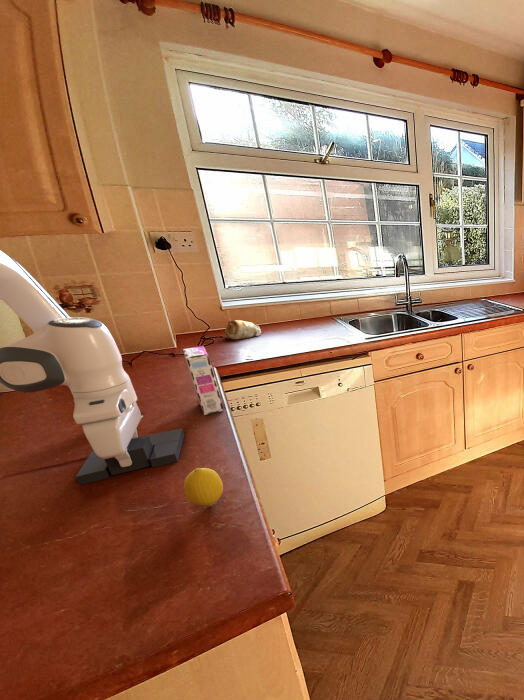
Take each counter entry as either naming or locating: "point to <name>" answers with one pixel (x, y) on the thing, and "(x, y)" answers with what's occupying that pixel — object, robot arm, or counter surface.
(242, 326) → the pastry
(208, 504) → the lemon
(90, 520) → the counter surface
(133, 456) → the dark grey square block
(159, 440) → the base pad
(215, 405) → the candy bar box
